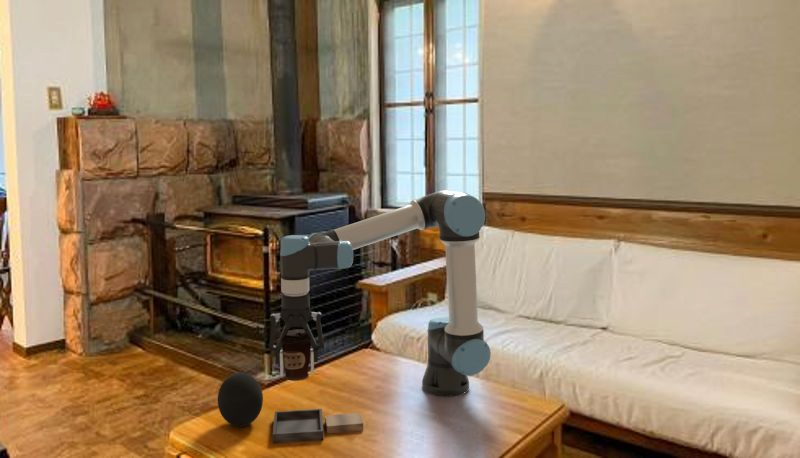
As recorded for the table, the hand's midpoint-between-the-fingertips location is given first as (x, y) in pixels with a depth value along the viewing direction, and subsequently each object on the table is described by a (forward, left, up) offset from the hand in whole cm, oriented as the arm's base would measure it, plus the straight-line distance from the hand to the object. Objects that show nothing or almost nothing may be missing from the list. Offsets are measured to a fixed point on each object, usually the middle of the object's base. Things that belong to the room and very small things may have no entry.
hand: (297, 373), depth 179 cm
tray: (0, 0, -16) cm, 16 cm away
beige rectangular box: (-13, 0, -17) cm, 21 cm away
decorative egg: (+16, -5, -16) cm, 23 cm away
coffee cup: (0, 0, -1) cm, 1 cm away
